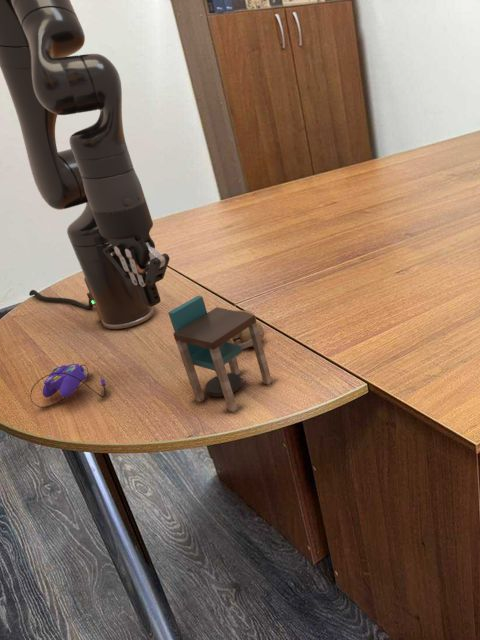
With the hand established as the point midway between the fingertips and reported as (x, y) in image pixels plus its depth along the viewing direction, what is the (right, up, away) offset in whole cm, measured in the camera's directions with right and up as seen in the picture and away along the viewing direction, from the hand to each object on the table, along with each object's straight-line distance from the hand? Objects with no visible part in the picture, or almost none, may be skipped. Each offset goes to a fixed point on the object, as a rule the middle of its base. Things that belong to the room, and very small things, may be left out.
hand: (152, 303), depth 106 cm
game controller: (-13, -15, +2) cm, 20 cm away
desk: (+14, -14, -1) cm, 20 cm away
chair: (+12, -14, 0) cm, 18 cm away
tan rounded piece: (+8, -7, +13) cm, 17 cm away
